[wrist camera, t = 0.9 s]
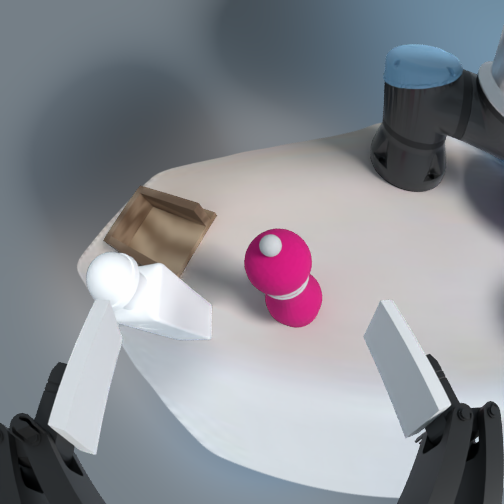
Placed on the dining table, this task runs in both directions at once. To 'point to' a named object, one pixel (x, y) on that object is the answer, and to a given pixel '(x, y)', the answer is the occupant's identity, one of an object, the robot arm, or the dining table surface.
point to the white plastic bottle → (149, 297)
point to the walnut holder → (160, 229)
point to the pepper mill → (284, 276)
